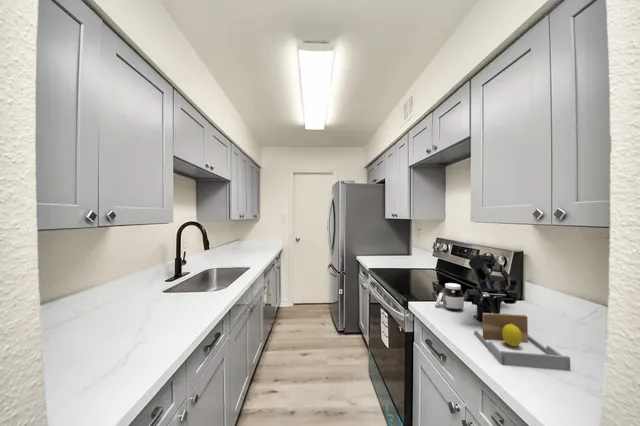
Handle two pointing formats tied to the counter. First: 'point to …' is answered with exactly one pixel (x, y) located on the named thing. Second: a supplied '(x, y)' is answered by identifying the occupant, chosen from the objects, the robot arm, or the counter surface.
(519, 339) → the lemon
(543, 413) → the counter surface
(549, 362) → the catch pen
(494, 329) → the board
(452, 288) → the spread jar
